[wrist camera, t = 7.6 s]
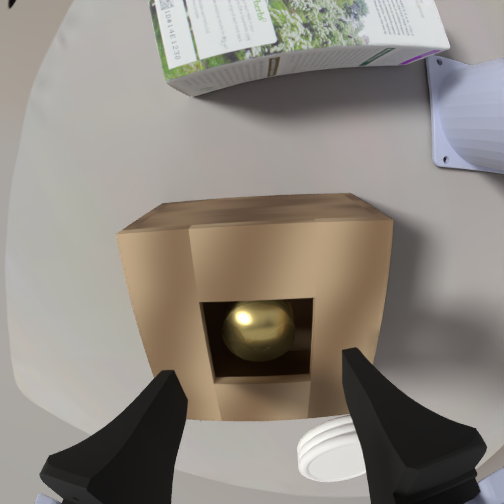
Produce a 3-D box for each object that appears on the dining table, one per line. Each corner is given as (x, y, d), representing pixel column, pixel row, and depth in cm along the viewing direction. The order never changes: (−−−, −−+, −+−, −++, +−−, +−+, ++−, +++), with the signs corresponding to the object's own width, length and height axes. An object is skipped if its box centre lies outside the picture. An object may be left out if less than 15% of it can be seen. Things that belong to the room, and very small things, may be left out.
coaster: (336, 466, 30) (340, 488, 26) (277, 447, 28) (278, 472, 24) (400, 426, 27) (409, 449, 23) (347, 400, 25) (355, 428, 21)
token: (299, 278, 20) (308, 320, 15) (272, 321, 21) (274, 370, 16) (246, 253, 19) (240, 291, 14) (222, 300, 20) (211, 346, 16)
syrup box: (190, 99, 16) (408, 67, 15) (161, 84, 11) (457, 50, 10) (172, 24, 14) (385, -4, 13) (141, -13, 9) (422, -38, 8)
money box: (350, 193, 18) (393, 220, 12) (340, 348, 22) (360, 411, 16) (162, 203, 19) (116, 234, 12) (188, 353, 23) (169, 417, 16)
